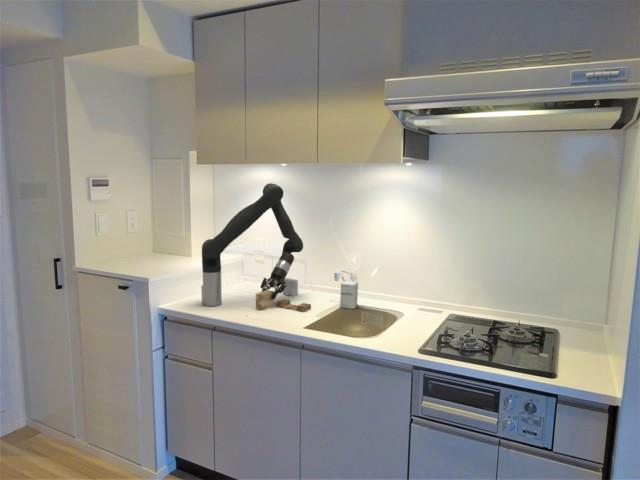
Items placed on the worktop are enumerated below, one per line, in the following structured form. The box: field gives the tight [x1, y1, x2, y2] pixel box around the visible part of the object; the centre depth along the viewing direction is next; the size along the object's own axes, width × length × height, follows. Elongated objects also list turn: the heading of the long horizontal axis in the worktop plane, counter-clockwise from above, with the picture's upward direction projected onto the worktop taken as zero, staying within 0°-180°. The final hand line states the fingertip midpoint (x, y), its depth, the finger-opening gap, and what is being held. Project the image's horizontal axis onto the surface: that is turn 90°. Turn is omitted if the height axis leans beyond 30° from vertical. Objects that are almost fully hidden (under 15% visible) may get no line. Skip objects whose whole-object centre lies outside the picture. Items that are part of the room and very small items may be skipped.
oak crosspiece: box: [255, 289, 274, 311], centre depth 233 cm, size 4×9×8 cm, turn 149°
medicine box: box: [282, 277, 299, 297], centre depth 258 cm, size 8×4×9 cm, turn 48°
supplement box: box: [339, 280, 359, 310], centre depth 237 cm, size 7×7×13 cm
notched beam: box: [275, 298, 312, 313], centre depth 233 cm, size 17×6×2 cm, turn 58°
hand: (266, 297), depth 234 cm, fingers open, 6 cm apart
